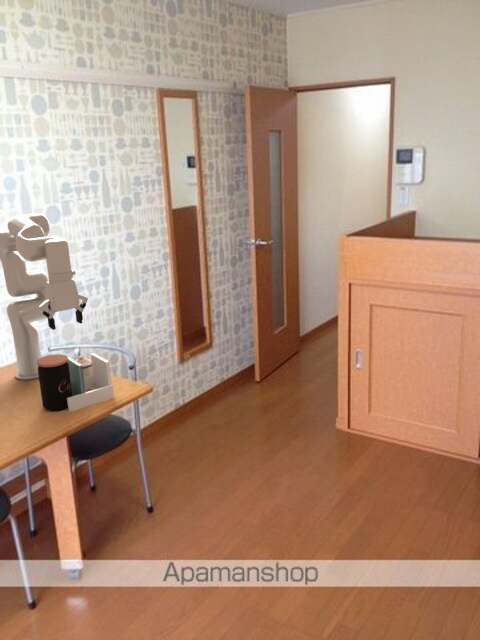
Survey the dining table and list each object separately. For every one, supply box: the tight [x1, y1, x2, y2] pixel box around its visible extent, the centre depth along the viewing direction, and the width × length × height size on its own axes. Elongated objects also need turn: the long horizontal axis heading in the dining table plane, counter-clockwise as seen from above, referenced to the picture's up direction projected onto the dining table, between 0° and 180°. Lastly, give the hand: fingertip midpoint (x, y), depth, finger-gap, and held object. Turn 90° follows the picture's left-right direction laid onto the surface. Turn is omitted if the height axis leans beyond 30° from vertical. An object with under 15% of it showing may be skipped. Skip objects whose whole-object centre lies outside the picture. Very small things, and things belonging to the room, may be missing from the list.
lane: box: [67, 352, 115, 413], centre depth 220 cm, size 15×17×14 cm
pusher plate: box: [67, 356, 86, 396], centre depth 219 cm, size 12×1×15 cm, turn 39°
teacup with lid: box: [75, 355, 93, 377], centre depth 235 cm, size 12×9×12 cm
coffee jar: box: [37, 353, 73, 413], centre depth 214 cm, size 11×11×18 cm
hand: (66, 325), depth 204 cm, fingers open, 9 cm apart
